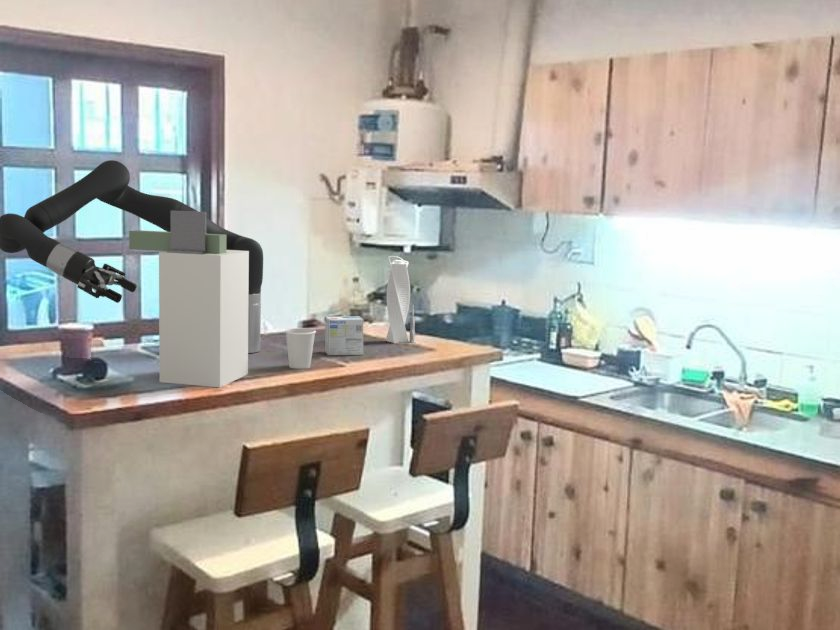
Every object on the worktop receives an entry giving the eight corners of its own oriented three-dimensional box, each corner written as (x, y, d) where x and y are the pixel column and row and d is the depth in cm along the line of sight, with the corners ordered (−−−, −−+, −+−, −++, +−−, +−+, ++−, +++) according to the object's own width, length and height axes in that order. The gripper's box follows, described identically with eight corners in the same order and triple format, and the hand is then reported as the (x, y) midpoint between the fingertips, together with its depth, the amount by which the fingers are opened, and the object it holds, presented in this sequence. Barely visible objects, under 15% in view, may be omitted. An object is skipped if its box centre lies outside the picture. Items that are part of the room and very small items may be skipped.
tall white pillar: (190, 369, 249) (190, 248, 245) (247, 374, 246) (248, 250, 242) (159, 382, 233) (158, 252, 229) (220, 387, 230) (220, 255, 225)
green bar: (137, 248, 238) (136, 230, 238) (226, 252, 233) (226, 234, 233) (128, 249, 235) (128, 230, 234) (219, 253, 229) (219, 235, 229)
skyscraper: (394, 345, 298) (396, 256, 294) (379, 341, 304) (382, 254, 300) (415, 343, 303) (418, 256, 299) (401, 340, 309) (403, 254, 305)
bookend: (172, 251, 231) (172, 210, 230) (206, 253, 229) (206, 212, 228) (166, 252, 228) (166, 210, 227) (201, 254, 226) (201, 212, 225)
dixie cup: (285, 369, 253) (285, 332, 252) (283, 363, 261) (284, 327, 260) (316, 369, 255) (317, 332, 254) (313, 363, 263) (314, 328, 262)
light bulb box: (359, 351, 285) (360, 315, 283) (363, 355, 278) (364, 318, 277) (323, 351, 282) (324, 315, 281) (327, 355, 276) (328, 319, 274)
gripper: (60, 259, 230) (120, 290, 230) (88, 243, 243) (145, 273, 244) (51, 284, 233) (110, 315, 233) (79, 268, 246) (135, 297, 246)
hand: (128, 294), depth 238 cm, fingers open, 8 cm apart
